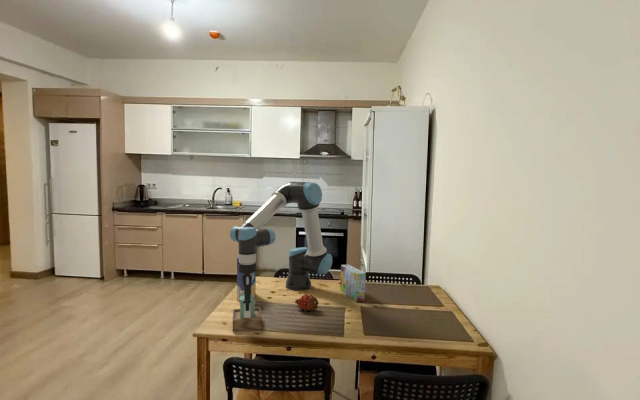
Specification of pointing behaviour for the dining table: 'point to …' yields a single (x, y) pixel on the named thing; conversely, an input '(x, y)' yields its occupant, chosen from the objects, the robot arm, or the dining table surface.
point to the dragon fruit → (307, 302)
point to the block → (243, 306)
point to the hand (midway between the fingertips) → (247, 313)
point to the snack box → (353, 282)
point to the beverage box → (240, 283)
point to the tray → (247, 321)
